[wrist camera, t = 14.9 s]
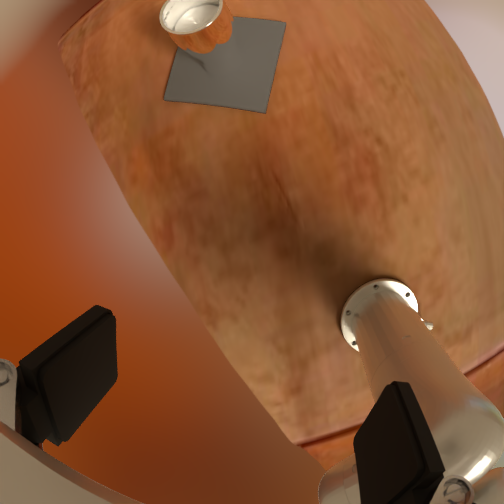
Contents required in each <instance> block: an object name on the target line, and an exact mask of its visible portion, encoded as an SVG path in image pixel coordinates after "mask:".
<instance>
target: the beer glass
mask: <svg viewBox="0 0 504 504" xmlns="http://www.w3.org/2000/svg"><path fill="white" fill-rule="evenodd" d="M159 20H160V24H161V26H162V27H163V28H164V29H165V30H166V32H167V33H168V35H169V36H170V37H171V38H172V40H173V41H174V42H175V43H176V44H177V45H178V46H179V47H180V48H181V49H182V50H184V51H185V52H187V53H188V54H190V55H192V56H194V57H195V58H197V59H199V60H201V61H202V64H203V66H204V68H205V70H206V71H207V72H208V73H210V74H212V75H214V76H219V77H223V76H228V75H231V74H233V73H235V72H236V71H238V70H239V69H240V68H241V66H242V65H243V63H244V59H245V53H244V50H243V48H242V47H241V46H240V45H239V44H238V43H237V42H236V27H235V22H234V19H233V16H232V14H231V12H230V10H229V8H228V6H227V5H226V3H225V2H224V0H167V1H166V2H165V4H164V5H163V7H162V9H161V11H160V16H159Z"/></svg>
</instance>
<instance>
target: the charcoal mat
mask: <svg viewBox="0 0 504 504" xmlns="http://www.w3.org/2000/svg"><path fill="white" fill-rule="evenodd" d="M233 19H234V22H235V27H236V42H237V43H238V44H239V45H240V46H241V47H242V48H243V50H244V53H245V59H244V63H243V65H242V66H241V68H240V69H239V70H238V71H236V72H235V73H233V74H231V75H228V76H223V77H219V76H214V75H212V74H210V73H208V72H207V71H206V70H205V68H204V66H203V64H202V61H201V60H199V59H197V58H195V57H194V56H192V55H190V54H188V53H187V52H185V51H184V50H182V49H181V48H180V47H179V46H178V49H177V52H176V56H175V59H174V62H173V66H172V69H171V73H170V77H169V80H168V84H167V88H166V92H165V96H164V100H165V101H173V102H185V103H195V104H204V105H213V106H221V107H228V108H235V109H241V110H247V111H253V112H259V113H265V114H266V110H267V105H268V101H269V96H270V92H271V88H272V83H273V79H274V74H275V70H276V66H277V62H278V57H279V53H280V49H281V45H282V40H283V36H284V32H285V28H286V22H279V21H272V20H264V19H255V18H244V17H233Z"/></svg>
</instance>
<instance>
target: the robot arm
mask: <svg viewBox="0 0 504 504" xmlns="http://www.w3.org/2000/svg"><path fill="white" fill-rule="evenodd" d="M375 284H376V286H375V287H374V285H375ZM406 293H407V294H406ZM347 310H349V311H348V312H347ZM432 327H433V323H432V322H430V321H423V319H422V318H421V317H420V315H419V314H418V304H417V300H416V297H415V296H414V294H413V292H412V291H411V290H410V289H409V288H408V287H407V286H406V285H405V284H403V283H402V282H400V281H398V280H394V279H385V278H383V279H376V280H373V281H370V282H367V283H366V284H364V285H362V286H360V287H359V288H358V289H357V290H355V291H354V292H353V293H352V295H351V296H350V297H349V298H348V300H347V301H346V303H345V305H344V307H343V310H342V314H341V329H342V333H343V336H344V338H345V340H346V341H347V343H348V344H349V345H350V346H351V347H352V348H354V349H355V350H357V351H359V353H360V356H361V359H362V362H363V365H364V368H365V372H366V375H367V378H368V382H369V385H370V388H371V392H372V395H373V398H374V401H375V405H374V407H373V408H372V410H371V412H370V413H369V415H368V416H367V418H366V420H365V421H364V423H363V424H362V426H361V427H360V429H359V430H358V432H357V433H356V435H355V437H354V442H353V445H354V452H355V453H354V454H352V455H351V456H349V457H347V458H345V459H344V460H342V461H340V462H339V463H337V464H336V465H334V466H333V467H331V468H330V469H329V470H328V471H327V472H326V473H325V474H324V476H323V477H322V479H321V481H320V484H319V490H318V497H319V502H320V504H504V467H499V468H495V469H492V470H491V468H492V467H493V466H494V465H495V464H496V462H497V461H498V459H499V458H500V457H501V455H502V453H503V451H504V419H503V417H502V415H501V413H500V412H499V410H498V409H497V408H496V407H495V406H494V404H493V403H492V402H491V401H490V400H489V399H488V398H487V397H486V396H485V395H484V394H483V393H482V392H480V391H479V390H478V389H477V388H476V387H475V386H474V385H473V384H472V383H471V382H470V381H469V380H468V379H467V378H466V377H465V376H464V374H463V373H462V372H461V371H460V370H459V368H458V367H457V366H456V364H455V363H454V362H453V361H452V359H451V358H450V357H449V355H448V354H447V353H446V351H445V350H444V349H443V348H442V346H441V345H440V344H439V342H438V341H437V340H436V338H435V337H434V336H433V334H432V333H431V332H430V330H431V329H432ZM19 364H20V365H19V366H18V367H17V368H15V366H14V365H13V364H12V363H11V362H10V361H7V360H5V359H0V504H143V503H141V502H138V501H136V500H134V499H131V498H129V497H126V496H124V495H122V494H119V493H118V492H115V491H113V490H111V489H109V488H107V487H105V486H103V485H101V484H99V483H97V482H95V481H93V480H91V479H89V478H88V477H86V476H84V475H82V474H80V473H78V472H77V471H75V470H73V469H71V468H70V467H68V466H67V465H65V464H63V463H62V462H60V461H58V460H57V459H55V458H54V457H52V456H50V455H49V454H47V453H46V452H44V451H43V444H42V443H43V441H44V440H45V439H47V440H49V441H50V442H52V443H53V444H55V445H57V446H59V445H60V444H61V442H62V441H64V442H66V441H68V440H69V439H70V437H71V436H72V435H73V434H74V433H75V431H76V430H77V429H78V428H79V426H80V425H81V424H82V422H83V421H84V420H85V419H86V418H87V417H88V415H89V414H90V413H91V412H92V410H93V409H94V408H95V407H96V406H97V404H98V403H99V402H100V400H101V399H102V398H103V397H104V396H105V395H106V393H107V392H108V391H109V390H110V388H111V387H112V386H113V385H114V383H115V382H116V380H117V376H118V374H117V351H116V318H115V316H113V313H112V311H111V310H109V309H106V308H104V307H101V306H99V305H95V306H93V307H92V308H91V309H89V310H88V311H86V312H85V313H84V314H82V315H81V316H79V317H78V318H77V319H75V320H74V321H72V322H71V323H70V324H68V325H67V326H66V327H64V328H63V329H61V330H60V331H59V332H58V333H56V334H55V335H53V336H52V337H51V338H49V339H48V340H47V341H45V342H44V343H43V344H41V345H40V346H39V347H37V348H36V349H35V350H33V351H32V352H31V353H30V354H28V355H27V356H25V357H24V358H23V359H22V360H20V361H19Z"/></svg>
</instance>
